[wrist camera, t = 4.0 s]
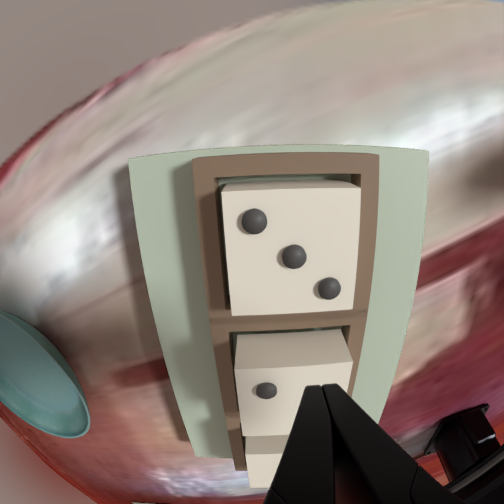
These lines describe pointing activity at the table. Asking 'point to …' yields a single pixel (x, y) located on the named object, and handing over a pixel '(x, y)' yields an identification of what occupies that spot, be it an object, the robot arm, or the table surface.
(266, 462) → the one-pip key
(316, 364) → the two-pip key
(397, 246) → the board
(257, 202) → the three-pip key
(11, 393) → the saucer
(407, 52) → the table surface
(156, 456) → the table surface
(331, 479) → the robot arm
